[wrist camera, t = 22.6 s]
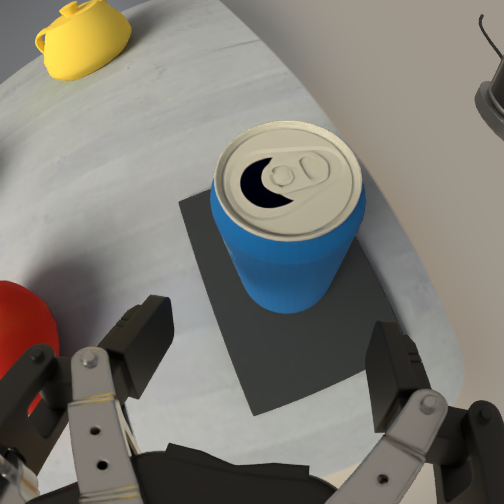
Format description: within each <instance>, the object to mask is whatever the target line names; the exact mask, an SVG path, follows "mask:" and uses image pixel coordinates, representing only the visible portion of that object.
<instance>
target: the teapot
mask: <svg viewBox="0 0 504 504" xmlns="http://www.w3.org/2000/svg"><path fill="white" fill-rule="evenodd" d="M59 12H60V13H61V14H62V16H61V17H59V18H58V19H57V20H55V21H54V22H53V23H52V24H51V25H50V26H49V27H47V28H45V29H43V30H42V31H41V32H40V33H39V34H38V35H37V37H36V41H35V43H36V46H37V47H38V49H39V50H40V51H41V52H42V53H43V54H44V58H45V59H44V64H45V66H46V67H47V70H48V72H49V74H50V76H51V77H53V78H54V79H58V80H66V81H71V80H75V79H79V78H81V77H84V76H86V75H88V74H90V73H92V72H94V71H96V70H98V69H99V68H101V67H103V66H104V65H106V64H107V63H109V62H110V61H111V60H113V59H114V58H115V57H116V56H117V55H119V54H120V53H121V52H122V50H123V49H124V48H125V46H126V44H127V42H128V40H129V37H130V35H131V26H130V24H129V22H128V21H127V19H126V18H125V17H124V16H123V14H121V13H120V12H119V11H118V10H116V9H115V8H113V7H112V6H110V5H108V4H107V1H106V0H92V1H88V2H86V3H83V4H81V5H79V6H77V1H74V2H71V3H69V4H68V5H66V6H64V7H63V8H62V9H61V10H60V11H59ZM44 34H46V37H45V43H44V42H43V40H42V35H44Z"/></svg>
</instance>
